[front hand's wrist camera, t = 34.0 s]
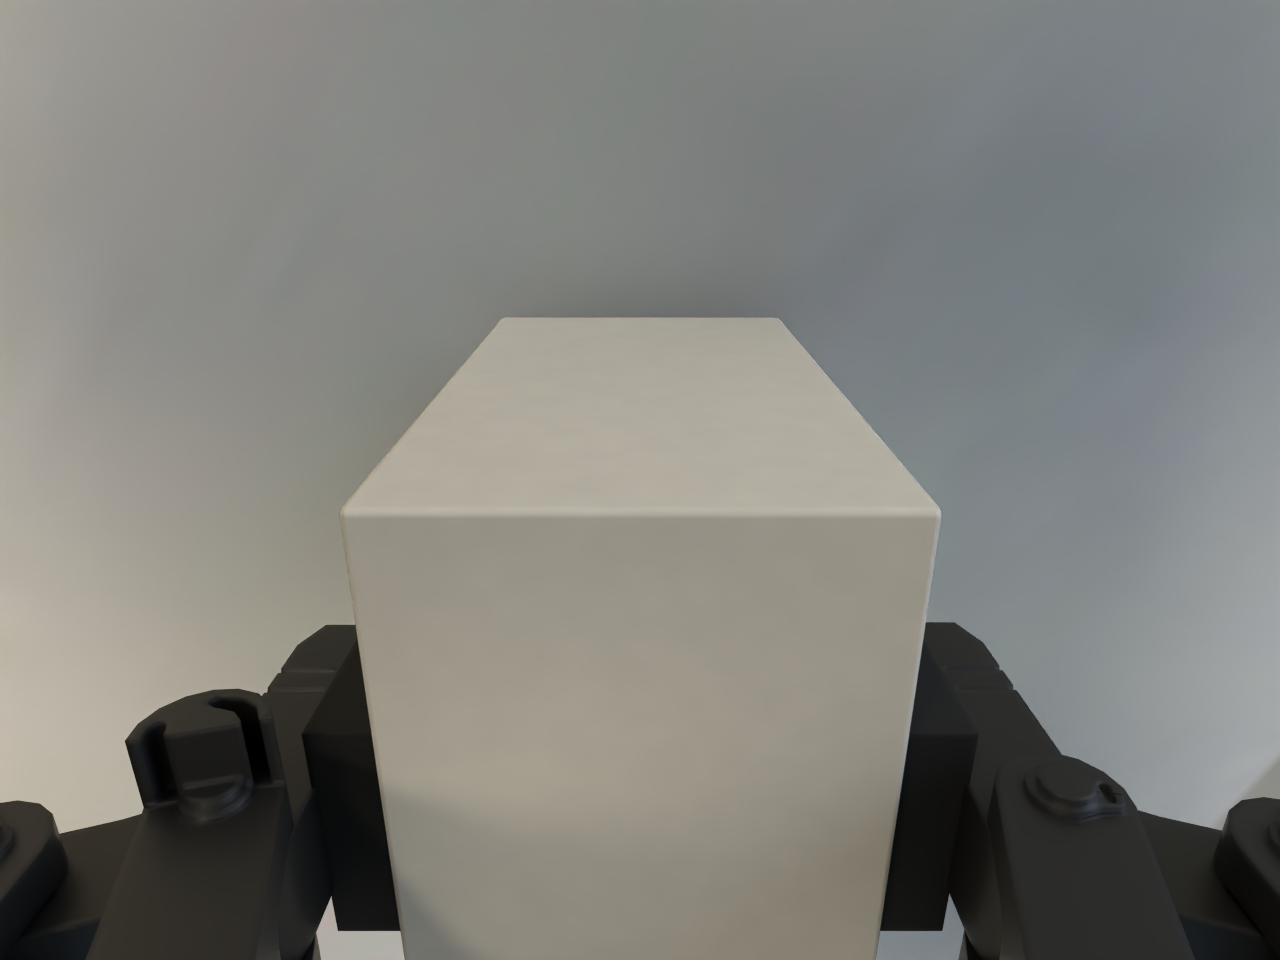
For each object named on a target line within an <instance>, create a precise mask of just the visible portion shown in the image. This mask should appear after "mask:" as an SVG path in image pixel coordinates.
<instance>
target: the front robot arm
mask: <svg viewBox="0 0 1280 960" xmlns="http://www.w3.org/2000/svg"><path fill="white" fill-rule="evenodd" d="M125 743H126V747H127V750H128V754H129V757H130V761H131V764H132V768H133V771H134V775H135V778H136V782H137V785H138V789H139V792H140V796H141V799H142V803H143V806H144V809H143V812H142V814H140V815H136V816H133V817H130V818H126V819H123V820H119V821H114V822H110V823H106V824H101V825H97V826H92V827H88V828H83V829H79V830H75V831H70V832H66V833H61V834H59V832H58V829H57V826H56V823H55V820H54V817H53V814H52V813H51V812H50V811H48V810H47V809H46V808H45V807H43V806H42V805H41V804H38V803H31V802H24V801H11V802H4V803H0V960H321V957H320V951H319V945H318V940H317V935H316V931H317V929H318V926H319V924H320V922H321V919H322V917H323V914H324V912H325V910H326V907H327V905H328V902H329V900H330V898H331V896H332V901H333V907H334V912H335V917H336V923H337V928H338V931H401V930H400V923H399V917H398V910H397V903H396V896H395V889H394V883H393V876H392V869H391V862H390V855H389V849H388V842H387V835H386V828H385V821H384V815H383V808H382V801H381V794H380V787H379V781H378V774H377V767H376V760H375V753H374V747H373V740H372V733H371V726H370V719H369V712H368V706H367V699H366V692H365V685H364V678H363V672H362V665H361V658H360V651H359V644H358V638H357V631H356V625H325V626H324V627H323V628H321V629H320V630H318V631H317V632H316V633H314V634H313V635H311V636H310V637H308V638H307V639H306V640H304V641H303V642H301V643H300V644H299V645H297V647H296V648H295V650H294V651H293V653H292V654H291V655H290V657H289V658H288V660H287V661H286V663H285V664H284V665H283V667H282V668H281V673H278V674H277V675H276V677H275V678H274V680H273V681H272V683H271V684H270V686H269V687H268V692H267V693H264V694H263V696H261V695H260V694H258V693H254V692H250V691H246V690H241V689H223V690H211V691H207V692H203V693H199V694H195V695H191V696H187V697H184V698H182V699H180V700H177V701H175V702H173V703H171V704H168V705H166V706H164V707H162V708H159V709H158V710H157V711H155V712H154V713H152V714H151V715H150V716H148V717H147V718H145V719H144V720H143V721H141V722H140V723H139V724H138V725H137V726H136V727H135V728H134V730H133V731H132V732H131V734H130V735H129V736H128V738H127V739H126V740H125ZM949 893H950V895H951V898H952V900H953V903H954V905H955V907H956V910H957V912H958V915H959V917H960V919H961V922H962V924H963V926H964V929H965V930H964V935H963V940H962V945H961V950H960V955H959V960H1280V799H1272V798H1266V797H1262V798H1255V799H1248V800H1241V801H1240V802H1239V803H1238V804H1236V805H1235V806H1234V807H1233V808H1231V809H1230V810H1229V812H1228V815H1227V818H1226V821H1225V824H1224V827H1223V830H1222V831H1221V830H1216V829H1212V828H1208V827H1203V826H1199V825H1194V824H1190V823H1185V822H1181V821H1176V820H1172V819H1168V818H1163V817H1159V816H1155V815H1152V814H1149V813H1145V812H1142V811H1138V810H1137V808H1136V806H1135V804H1134V803H1133V801H1132V800H1131V798H1130V797H1129V795H1128V794H1127V792H1126V791H1125V789H1124V788H1123V787H1121V786H1120V785H1119V784H1118V783H1117V782H1115V781H1114V780H1113V779H1112V778H1110V777H1109V776H1108V775H1107V774H1106V773H1104V772H1103V771H1101V770H1099V769H1097V768H1095V767H1093V766H1091V765H1089V764H1087V763H1085V762H1083V761H1081V760H1079V759H1075V758H1072V757H1068V756H1064V755H1062V754H1061V753H1060V751H1059V750H1058V749H1057V747H1056V746H1055V744H1054V743H1053V741H1052V740H1051V739H1050V737H1049V736H1048V734H1047V733H1046V731H1045V730H1044V729H1043V727H1042V726H1041V724H1040V723H1039V722H1038V720H1037V719H1036V717H1035V716H1034V714H1033V713H1032V712H1031V710H1030V709H1029V707H1028V706H1027V704H1026V703H1025V702H1024V700H1023V699H1022V697H1021V696H1020V694H1019V693H1018V692H1017V690H1013V685H1012V683H1011V682H1010V680H1009V679H1008V677H1007V676H1006V675H1005V673H1004V672H1003V670H1000V669H999V665H998V663H997V662H996V660H995V659H994V657H993V656H992V655H991V653H990V652H989V650H988V649H987V647H986V646H985V645H984V643H983V642H982V641H980V640H979V639H977V638H976V637H974V636H973V635H972V634H970V633H969V632H967V631H966V630H964V629H963V628H962V627H960V626H959V625H957V624H956V623H954V622H926V624H925V631H924V638H923V644H922V651H921V658H920V665H919V671H918V678H917V685H916V692H915V698H914V705H913V712H912V718H911V725H910V732H909V739H908V745H907V752H906V759H905V766H904V772H903V779H902V786H901V793H900V799H899V806H898V813H897V819H896V826H895V833H894V840H893V846H892V853H891V860H890V867H889V873H888V880H887V887H886V893H885V900H884V907H883V914H882V920H881V927H880V931H942V929H943V924H944V918H945V913H946V908H947V902H948V897H949Z"/></svg>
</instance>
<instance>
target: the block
mask: <svg viewBox="0 0 1280 960" xmlns="http://www.w3.org/2000/svg"><path fill="white" fill-rule="evenodd" d="M339 515H340V522H341V529H342V536H343V542H344V549H345V556H346V563H347V570H348V576H349V583H350V590H351V597H352V604H353V610H354V617H355V624H356V631H357V638H358V644H359V651H360V658H361V665H362V672H363V678H364V685H365V692H366V699H367V706H368V712H369V719H370V726H371V733H372V740H373V747H374V753H375V760H376V767H377V774H378V781H379V787H380V794H381V801H382V808H383V815H384V821H385V828H386V835H387V842H388V849H389V855H390V862H391V869H392V876H393V883H394V889H395V896H396V903H397V910H398V917H399V923H400V930H401V937H402V944H403V951H404V957H405V960H876V954H877V947H878V941H879V934H880V927H881V920H882V914H883V907H884V900H885V893H886V887H887V880H888V873H889V867H890V860H891V853H892V846H893V840H894V833H895V826H896V819H897V813H898V806H899V799H900V793H901V786H902V779H903V772H904V766H905V759H906V752H907V745H908V739H909V732H910V725H911V718H912V712H913V705H914V698H915V692H916V685H917V678H918V671H919V665H920V658H921V651H922V644H923V638H924V631H925V624H926V617H927V611H928V604H929V597H930V591H931V584H932V577H933V570H934V564H935V557H936V550H937V543H938V537H939V530H940V523H941V517H942V514H941V511H940V508H939V507H938V506H937V504H936V503H935V502H934V501H933V500H932V499H931V497H930V496H929V495H928V494H927V493H926V491H925V490H924V489H923V488H922V487H921V486H920V484H919V483H918V482H917V481H916V480H915V478H914V477H913V476H912V475H911V474H910V473H909V471H908V470H907V469H906V468H905V467H904V466H903V464H902V463H901V462H900V461H899V460H898V458H897V457H896V456H895V455H894V454H893V453H892V451H891V450H890V449H889V448H888V447H887V445H886V444H885V443H884V442H883V441H882V440H881V438H880V437H879V436H878V435H877V434H876V433H875V431H874V430H873V429H872V428H871V427H870V425H869V424H868V423H867V422H866V421H865V420H864V418H863V417H862V416H861V415H860V414H859V413H858V411H857V410H856V409H855V408H854V407H853V405H852V404H851V403H850V402H849V401H848V400H847V398H846V397H845V396H844V395H843V394H842V392H841V391H840V390H839V389H838V388H837V387H836V385H835V384H834V383H833V382H832V381H831V380H830V378H829V377H828V376H827V375H826V374H825V372H824V371H823V370H822V369H821V368H820V367H819V365H818V364H817V363H816V362H815V361H814V359H813V358H812V357H811V356H810V355H809V354H808V352H807V351H806V350H805V349H804V348H803V347H802V345H801V344H800V343H799V342H798V341H797V339H796V338H795V337H794V336H793V335H792V334H791V332H790V331H789V330H788V329H787V328H786V327H785V325H784V324H783V323H782V322H781V321H780V319H778V318H502V319H501V320H500V321H499V322H498V323H497V325H496V326H495V327H494V328H493V329H492V331H491V332H490V333H489V334H488V335H487V336H486V338H485V339H484V340H483V341H482V342H481V344H480V345H479V346H478V347H477V348H476V349H475V351H474V352H473V353H472V354H471V355H470V357H469V358H468V359H467V360H466V361H465V362H464V364H463V365H462V366H461V367H460V368H459V370H458V371H457V372H456V373H455V374H454V375H453V377H452V378H451V379H450V380H449V381H448V383H447V384H446V385H445V386H444V387H443V388H442V390H441V391H440V392H439V393H438V394H437V396H436V397H435V398H434V399H433V400H432V401H431V403H430V404H429V405H428V406H427V407H426V409H425V410H424V411H423V412H422V413H421V414H420V416H419V417H418V418H417V419H416V420H415V422H414V423H413V424H412V425H411V426H410V427H409V429H408V430H407V431H406V432H405V433H404V435H403V436H402V437H401V438H400V439H399V440H398V442H397V443H396V444H395V445H394V446H393V448H392V449H391V450H390V451H389V452H388V454H387V455H386V456H385V457H384V458H383V459H382V461H381V462H380V463H379V464H378V465H377V467H376V468H375V469H374V470H373V471H372V472H371V474H370V475H369V476H368V477H367V478H366V480H365V481H364V482H363V483H362V484H361V485H360V487H359V488H358V489H357V490H356V491H355V493H354V494H353V495H352V496H351V497H350V498H349V500H348V501H347V502H346V503H345V504H344V506H343V507H342V508H341V511H340V514H339Z"/></svg>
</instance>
